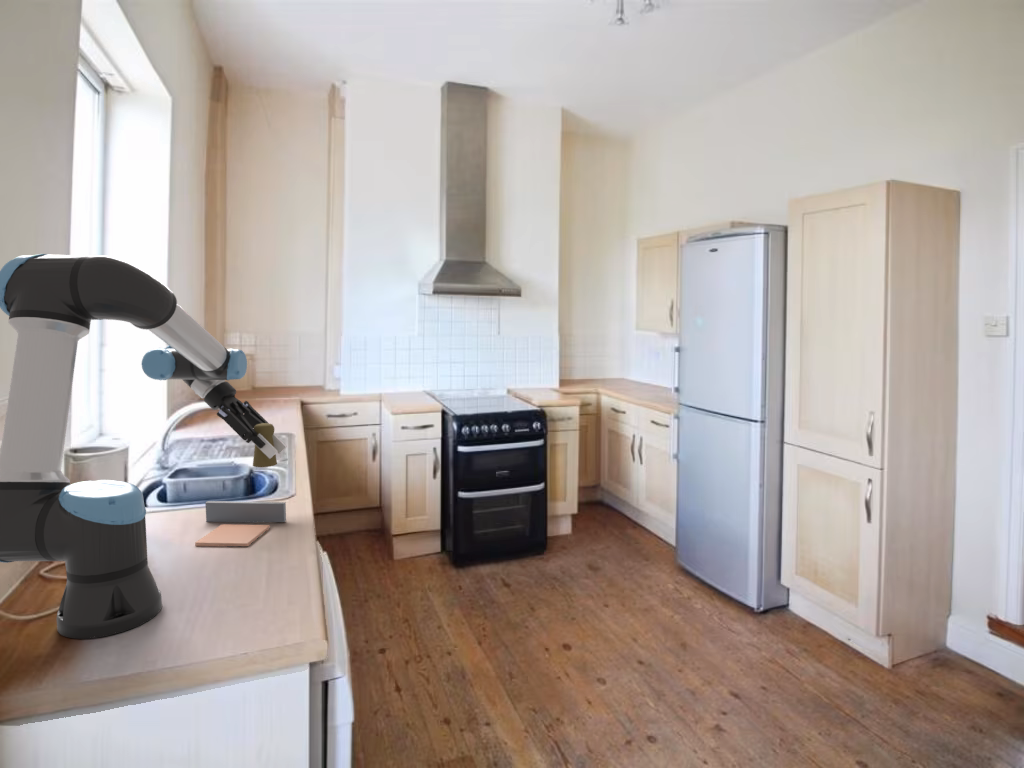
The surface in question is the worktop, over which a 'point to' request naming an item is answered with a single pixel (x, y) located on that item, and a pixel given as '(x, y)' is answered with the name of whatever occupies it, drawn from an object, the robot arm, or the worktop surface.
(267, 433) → the cork
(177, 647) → the worktop surface
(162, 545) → the worktop surface
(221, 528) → the terracotta tile
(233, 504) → the low wall
